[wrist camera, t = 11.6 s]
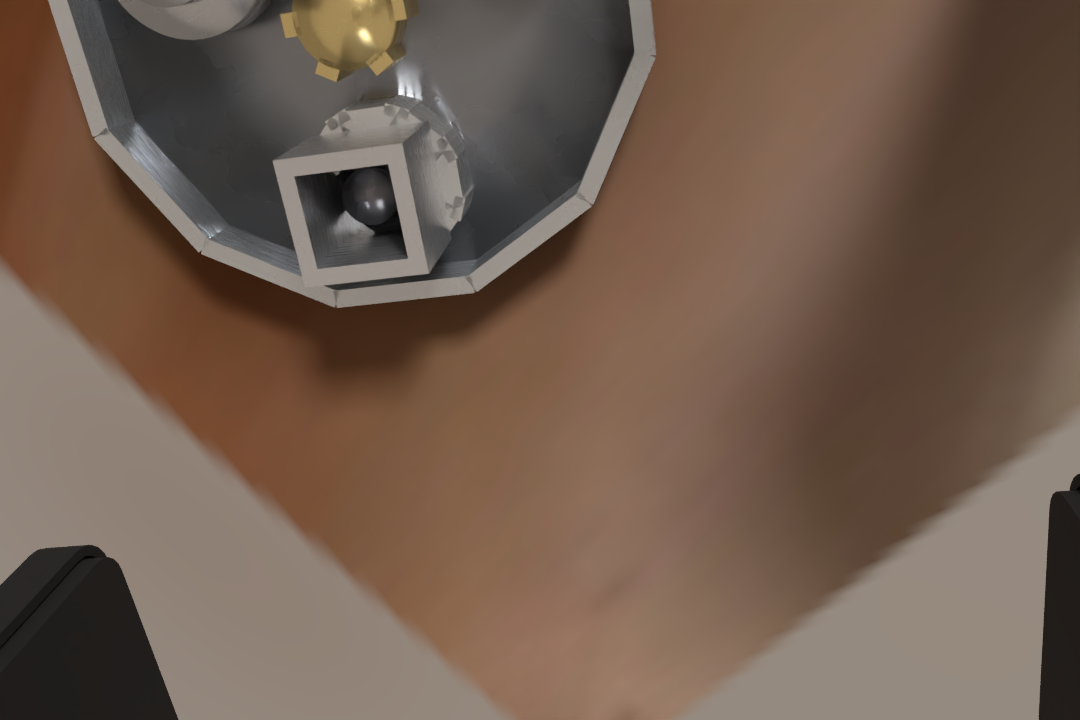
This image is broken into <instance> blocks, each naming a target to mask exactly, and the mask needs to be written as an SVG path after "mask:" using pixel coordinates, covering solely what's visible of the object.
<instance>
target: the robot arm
mask: <svg viewBox="0 0 1080 720" xmlns="http://www.w3.org/2000/svg"><path fill="white" fill-rule="evenodd" d="M0 720H178V717H177V715H176V712H175V709H174V707H173V704H172V702H171V699H170V696H169V694H168V691H167V688H166V686H165V683H164V680H163V678H162V675H161V672H160V670H159V667H158V664H157V662H156V659H155V657H154V654H153V651H152V649H151V646H150V644H149V641H148V638H147V636H146V633H145V630H144V628H143V625H142V622H141V619H140V617H139V614H138V612H137V609H136V606H135V604H134V601H133V598H132V596H131V593H130V590H129V588H128V585H127V583H126V580H125V577H124V575H123V572H122V570H121V568H120V566H119V564H118V563H117V562H116V561H115V560H114V559H112V558H109V557H106V555H105V553H104V552H103V551H102V550H100V548H98V547H96V546H93V545H84V546H69V547H56V548H45V549H40V550H37V551H36V552H34V553H33V554H31V555H30V556H29V557H28V558H27V559H26V560H25V561H24V562H23V563H22V564H21V565H20V566H19V567H18V568H17V569H16V570H15V571H14V572H13V573H12V574H11V575H10V576H9V577H8V578H7V579H6V580H5V581H4V582H3V583H2V584H1V585H0ZM1039 720H1080V474H1078V475H1076V476H1075V477H1074V478H1073V481H1072V483H1071V486H1070V491H1061V492H1060V491H1059V492H1055V493H1054V494H1053V496H1052V498H1051V502H1050V511H1049V530H1048V550H1047V569H1046V590H1045V608H1044V628H1043V647H1042V665H1041V685H1040V704H1039Z"/></svg>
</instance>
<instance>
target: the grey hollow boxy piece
mask: <svg viewBox="0 0 1080 720" xmlns="http://www.w3.org/2000/svg"><path fill="white" fill-rule="evenodd" d="M325 123H326V126H325V127H324V129H323V131H322V132H321V134H320V135H318V136H311V137H310V138H308V139H307V140H305V141H303V142H302V143H300V144H299V145H297V146H295V147H294V148H292V149H290V150H289V151H287V152H286V153H284V154H282V155H281V156H279V157H278V158H276V159H274V160H273V165H274V169H275V173H276V177H277V181H278V184H279V188H280V192H281V196H282V200H283V204H284V208H285V212H286V215H287V219H288V223H289V227H290V231H291V235H292V239H293V243H294V247H295V250H296V254H297V258H298V262H299V266H300V270H301V274H302V278H303V282H304V285H305V288H306V287H315V286H324V285H332V284H341V283H350V282H359V281H368V280H377V279H386V278H395V277H404V276H413V275H422V274H429V273H430V271H431V270H432V268H433V267H434V265H435V264H436V262H437V261H438V259H439V258H440V256H441V255H442V253H443V252H444V250H445V248H446V247H447V245H448V244H449V242H450V241H451V239H452V237H451V232H450V231H451V230H452V228H453V227H454V225H455V224H456V223H457V221H461V220H462V218H463V217H464V215H465V214H466V212H467V211H468V209H469V208H470V205H471V201H472V196H473V194H474V187H475V185H473V184H472V180H471V174H470V168H469V163H468V157H467V152H466V148H467V144H466V142H465V141H464V139H463V137H462V136H461V134H460V132H459V131H458V129H457V128H456V126H451V125H450V124H449V123H447V122H446V121H445V120H443V119H442V118H441V117H439V116H438V115H437V114H435V113H434V112H433V111H431V110H430V109H429V108H427V107H426V106H425V105H424V104H422V100H419V99H416V98H411V97H407V96H404V95H400V94H398V95H397V96H395V97H393V98H386V99H379V100H372V101H365V102H361V100H359V101H357V102H356V103H353V104H351V105H349V106H348V107H346V108H344V109H343V110H341V111H339V112H338V113H336V114H335V115H333V116H331V118H330V119H328V120H327V121H325ZM385 164H388V166H389V171H390V176H391V180H392V185H393V190H394V195H395V199H396V204H397V209H398V213H399V216H398V217H390V218H389V219H388V220H387V221H385V222H383V223H381V224H378V225H367V224H363V223H360V222H358V221H357V220H355V219H354V218H352V217H351V216H350V215H349V213H348V212H347V211H346V209H345V207H344V205H343V201H342V188H343V185H344V183H345V181H346V180H347V178H348V177H349V176H350V175H351V174H353V173H354V169H355V168H363V167H370V166H378V165H385Z"/></svg>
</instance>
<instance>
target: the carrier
mask: <svg viewBox="0 0 1080 720" xmlns="http://www.w3.org/2000/svg"><path fill="white" fill-rule="evenodd" d="M48 1H49V4H50V7H51V10H52V14H53V17H54V20H55V23H56V26H57V29H58V32H59V35H60V38H61V41H62V44H63V47H64V50H65V53H66V57H67V60H68V63H69V66H70V69H71V72H72V75H73V78H74V81H75V84H76V87H77V90H78V93H79V96H80V99H81V103H82V106H83V109H84V112H85V115H86V118H87V121H88V124H89V127H90V130H91V133H92V136H97V137H95V138H94V140H95V141H96V142H97V143H98V144H99V145H100V146H101V147H102V148H103V149H104V150H105V151H106V153H107V154H108V155H109V156H110V157H111V158H112V159H113V160H114V161H115V162H116V163H117V164H118V166H119V167H120V168H121V169H122V170H123V171H124V172H125V173H126V174H127V175H128V176H129V177H130V179H131V180H132V181H133V182H134V183H135V184H136V185H137V186H138V187H139V188H140V189H141V190H142V192H143V193H144V194H145V195H146V196H147V197H148V198H149V199H150V200H151V201H152V202H153V203H154V205H155V206H156V207H157V208H158V209H159V210H160V211H161V212H162V213H163V214H164V215H165V216H166V218H167V219H168V220H169V221H170V222H171V223H172V224H173V225H174V226H175V227H176V228H177V229H178V231H179V232H180V233H181V234H182V235H183V236H184V237H185V238H186V239H187V240H188V241H189V242H190V244H191V245H192V246H193V247H194V248H195V249H196V250H197V251H198V252H200V251H202V252H201V254H202V255H205V256H207V257H210V258H212V259H215V260H217V261H220V262H222V263H225V264H227V265H230V266H232V267H234V268H237V269H239V270H242V271H244V272H247V273H249V274H252V275H254V276H257V277H259V278H262V279H264V280H267V281H269V282H272V283H274V284H277V285H279V286H282V287H284V288H287V289H289V290H292V291H294V292H297V293H299V294H302V295H304V296H307V297H309V298H312V299H314V300H317V301H319V302H322V303H324V304H327V305H329V306H332V307H334V308H335V307H336V306H337V308H341V307H351V306H360V305H369V304H378V303H387V302H396V301H405V300H414V299H424V298H433V297H442V296H451V295H460V294H469V293H475V291H476V292H478V291H479V290H480V289H482V288H483V287H484V286H486V285H487V284H488V283H490V282H491V281H492V280H494V279H495V278H496V277H498V276H499V275H500V274H502V273H503V272H504V271H506V270H507V269H509V268H510V267H511V266H513V265H514V264H515V263H517V262H518V261H519V260H521V259H522V258H523V257H525V256H526V255H527V254H529V253H530V252H531V251H533V250H534V249H535V248H537V247H538V246H539V245H541V244H542V243H543V242H545V241H546V240H547V239H549V238H550V237H552V236H553V235H554V234H556V233H557V232H558V231H560V230H561V229H562V228H564V227H565V226H566V225H568V224H569V223H570V222H572V221H573V220H574V219H576V218H577V217H578V216H580V215H581V214H582V213H584V212H585V211H586V210H588V209H589V208H590V207H592V204H594V202H595V199H596V197H597V195H598V192H599V190H600V188H601V185H602V183H603V181H604V178H605V176H606V173H607V171H608V169H609V166H610V164H611V162H612V159H613V157H614V155H615V152H616V150H617V147H618V145H619V143H620V140H621V138H622V136H623V133H624V131H625V129H626V126H627V124H628V121H629V119H630V117H631V114H632V112H633V110H634V107H635V105H636V103H637V100H638V98H639V95H640V93H641V91H642V88H643V86H644V84H645V81H646V79H647V77H648V74H649V72H650V69H651V67H652V65H653V62H654V60H655V57H656V41H655V31H654V21H653V12H652V2H651V0H48ZM398 94H400V95H404V96H407V97H411V98H416V99H419V100H422V104H424V105H425V106H426V107H427V108H429V109H430V110H431V111H433V112H434V113H435V114H437V115H438V116H439V117H441V118H442V119H443V120H445V121H446V122H447V123H449V124H450V125H451V126H456V128H457V129H458V131H459V132H460V134H461V136H462V137H463V139H464V141H465V142H466V144H467V148H466V152H467V157H468V163H469V168H470V174H471V180H472V184H473V185H475V187H474V194H473V196H472V201H471V205H470V208H469V209H468V211H467V212H466V214H465V215H464V217H463V218H462V220H461V221H457V223H456V224H455V225H454V227H453V228H452V230H451V231H450V232H451V237H452V239H451V241H450V242H449V244H448V245H447V247H446V248H445V250H444V252H443V253H442V255H441V256H440V258H439V259H438V261H437V262H436V264H435V265H434V267H433V268H432V270H431V271H430V273H429V274H422V275H413V276H404V277H395V278H386V279H377V280H368V281H359V282H350V283H341V284H332V285H324V286H315V287H306V288H305V285H304V282H303V278H302V274H301V270H300V266H299V262H298V258H297V254H296V250H295V247H294V243H293V239H292V235H291V231H290V227H289V223H288V219H287V215H286V212H285V208H284V204H283V200H282V196H281V192H280V188H279V184H278V181H277V177H276V173H275V169H274V165H273V160H274V159H276V158H278V157H279V156H281V155H282V154H284V153H286V152H287V151H289V150H290V149H292V148H294V147H295V146H297V145H299V144H300V143H302V142H303V141H305V140H307V139H308V138H310V137H311V136H318V135H320V134H321V132H322V131H323V129H324V127H325V126H326V123H325V121H327V120H328V119H330V118H331V116H333V115H335V114H336V113H338V112H339V111H341V110H343V109H344V108H346V107H348V106H349V105H351V104H353V103H356V102H357V101H359V100H361V102H365V101H372V100H379V99H386V98H393V97H395V96H397V95H398ZM342 201H343V205H344V207H345V209H346V211H347V212H348V213H349V215H350V216H351V217H352V218H354V219H355V220H357V221H358V222H360V223H363V224H367V225H378V224H381V223H383V222H385V221H387V220H388V219H389V218H390V217H398V216H399V213H398V209H397V204H396V199H395V195H394V190H393V185H392V180H391V176H390V171H389V166H388V164H385V165H378V166H370V167H363V168H355V169H354V173H353V174H351V175H350V176H349V177H348V178H347V180H346V181H345V183H344V185H343V188H342Z"/></svg>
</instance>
